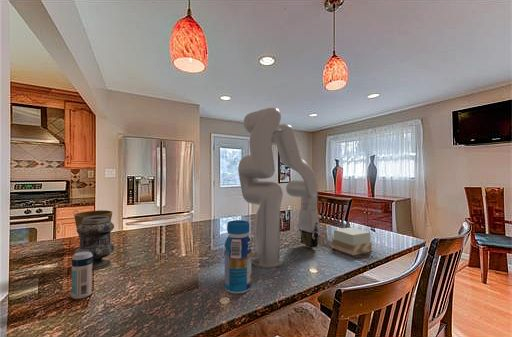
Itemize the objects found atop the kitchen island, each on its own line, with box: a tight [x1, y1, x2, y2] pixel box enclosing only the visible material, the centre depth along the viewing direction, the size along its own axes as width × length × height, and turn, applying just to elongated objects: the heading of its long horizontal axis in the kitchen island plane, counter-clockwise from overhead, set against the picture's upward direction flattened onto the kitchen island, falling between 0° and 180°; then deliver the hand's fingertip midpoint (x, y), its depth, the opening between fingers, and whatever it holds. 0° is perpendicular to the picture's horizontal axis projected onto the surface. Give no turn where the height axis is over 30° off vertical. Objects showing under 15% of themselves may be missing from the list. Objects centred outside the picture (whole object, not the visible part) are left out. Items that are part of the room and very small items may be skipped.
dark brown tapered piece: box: [300, 231, 316, 250], centre depth 115 cm, size 8×7×8 cm
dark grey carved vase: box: [74, 216, 115, 271], centre depth 92 cm, size 12×12×18 cm
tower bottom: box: [331, 238, 373, 256], centre depth 113 cm, size 12×12×4 cm
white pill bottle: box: [70, 251, 93, 300], centre depth 69 cm, size 5×5×12 cm
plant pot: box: [73, 209, 113, 239], centre depth 114 cm, size 15×15×16 cm
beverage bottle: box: [223, 219, 253, 295], centre depth 75 cm, size 8×8×20 cm
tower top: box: [333, 227, 371, 246], centre depth 113 cm, size 11×11×4 cm
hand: (309, 244), depth 115 cm, fingers closed on dark brown tapered piece, 6 cm apart
